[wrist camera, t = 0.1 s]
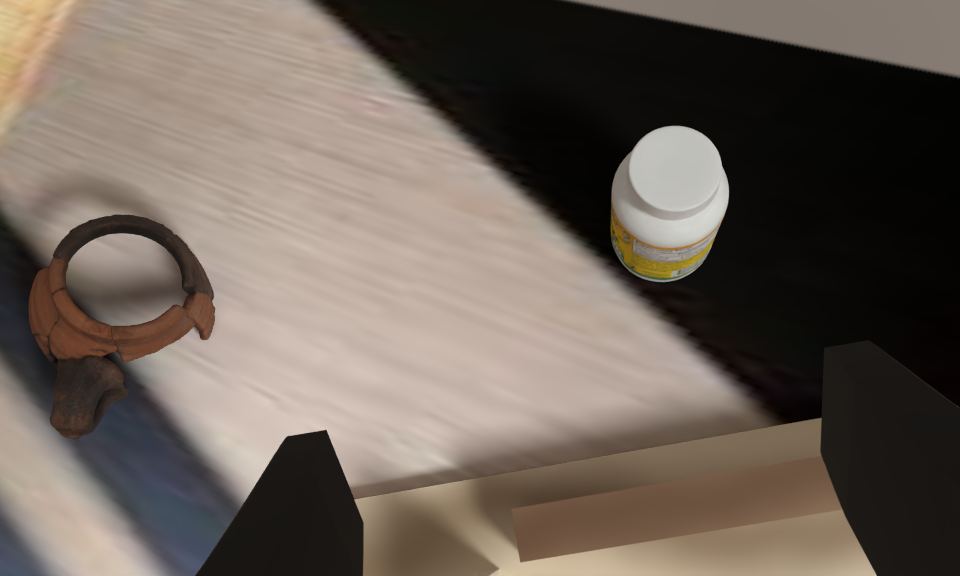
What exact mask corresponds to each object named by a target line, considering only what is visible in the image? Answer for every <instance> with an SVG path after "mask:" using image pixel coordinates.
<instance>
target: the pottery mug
mask: <svg viewBox="0 0 960 576" xmlns="http://www.w3.org/2000/svg"><path fill="white" fill-rule="evenodd" d="M116 233H127V234H135V235H141V236H144V237H147V238H149V239H152V240H154V241H156V242H157V243H159V244H161V245H162V246H163V247H165V248H166V249H167V250H168V251H169V252H170V253H171V254H172V256H173V257H174V258H175V260H176V261H177V263H178V265H179V267H180V270H181V274H182V288H183V290H184V291H185V292H186V293H187V294H188V295H187V298H186V300H185V303H184V306H183V307H181V306H179V305H173V306H172V307H171V308H170V309H169V310H167V311H166V312H165V313H163V314H162V315H161V316H159V317H158V318H156V319H154V320H152V321H149V322H146V323H142V324H139V325H131V326H110V325H108V324H105V323H101V322H99V321H97V320H95V319H93V318H91V317H89V316H87V315H86V314H85V313H83V312H82V311H81V310H80V309H79V308H78V307H77V306H76V305H75V304H74V303H73V301H72V300H71V298H70V296H69V294H68V291H67V287H66V271H67V268H68V263H69V261H70V260H71V258H72V256H73V255H74V254H75V253H76V252H77V251H78V250H79V249H80V248H81V247H82V246H84V245H85V244H87V243H88V242H90V241H91V240H94V239H96V238H98V237H101V236H105V235H107V234H116ZM213 298H214V292H213V290H212V287H211V284H210V282H209V279H208V277H207V275H206V273H205V271H204V269H203V267H202V266H201V264H200V262H199V261H198V259H197V258H196V257H195V255H194V254H193V253H192V252H191V251H190V249H189V248H188V246H187V245H186V244H185V243H184V242H183V240H182V239H181V238H179V237H178V236H177V235H175V234H173V233H172V231H171V230H170V229H168V228H166V227H165V226H164V225H163V224H159V223H157V222H155V221H152V220H150V219H148V218H144V217H138V216H134V215H112V216H105V217H101V218H97V219H94V220H89V221H88V222H86V223H83V224H81V225H79V226H77V227H76V228H74V229H72V230H71V231H70V232H69V234H68V235H67V236H66V237H65V238H64V239H63V240H62V241H61V242H60V244H59V245H58V247H57V248H56V250H55V252H54V254H53V259H52V261H51V264H50V267H48V268H44V269H42V270H40V271H39V272H38V273H37V275H36V277H35V280H34V282H33V285H32V289H31V292H30V297H29V322H30V327H31V330H32V333H33V334H34V336H35V339H36V341H37V343H38V345H39V347H40V348H41V350H42V351H43V353H44V354H45V356H46V357H47V359H48V360H49V361H50V362H51V364H52V365H53V366H54V367H55V369H56V370H57V371H58V372H57V377H56V382H55V387H54V394H55V399H54V404H53V409H52V414H51V417H50V423H51V425H52V426H53V427H54V428H55V429H56V430H57V431H58V432H59V433H60V434H61V435H62V436H64V437H66V438H72V439H78V438H80V437H82V436H83V435H86V434H89V433H91V432H92V431H93V430H94V429H95V428H96V426H97V425H98V423H99V422H100V420H101V418H102V417H103V415H104V413H105V412H106V410H107V409H108V408H109V406H110V405H112V404H113V403H115V402H116V401H118V400H120V399H122V398H124V397H126V396H127V395H129V390H128V388H126V387H125V386H124V384H123V383H124V376H123V374H122V372H121V371H120V370H119V368H118V366H117V365H115V364H114V363H113V362H112V361H110V360H109V359H106V358H103V357H102V356H104V355H107V354H108V353H113V352H118V353H119V355H120V356H121V359H122V361H123V362H128V361H132V360H134V359H137V358H140V357H143V356H145V355H148V354H151V353H155V352H157V351H159V350H160V349H162V348H164V347H165V346H167V345H169V344H171V343H173V342H175V341H177V340H179V339H180V338H182V337H183V336H184V335H185V334H187V333H188V332H189V331H190V330H191V329H192V328H193V327H194V326H195V327H196V328H197V329H198V331H199V334H200V338H201V339H202V340H207V339H209V337H210V335H211V332H212V329H213V325H214V322H215V316H214V313H215V307H214V306H213V303H212V300H213Z"/></svg>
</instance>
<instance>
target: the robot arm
mask: <svg viewBox="0 0 960 576" xmlns="http://www.w3.org/2000/svg"><path fill="white" fill-rule="evenodd" d="M820 453H821V456H822V458H823V461H824V464H825V466H826V469H827V471H828V474H829V477H830V479H831V482H832V485H833V487H834V490H835V492H836V495H837V497H838V500H839V502H840V505H841V507H842V510H843V512H844V515H845V517H846V519H847V521H848V523H849V525H850V527H851V529H852V530H853V532H854V534H855V536H856V538H857V540H858V542H859V544H860V545H861V547H862V549H863V551H864V553H865V555H866V557H867V558H868V560H869V562H870V564H871V566H872V568H873V570H874V571H875V573H876V575H877V576H960V408H959V407H958V406H956V405H955V404H953V403H952V402H951V401H949V400H948V399H947V398H945V397H944V396H943V395H941V394H940V393H939V392H937V391H936V390H935V389H933V388H932V387H931V386H929V385H928V384H926V383H925V382H924V381H923V380H921V379H920V378H919V377H917V376H916V375H915V374H913V373H912V372H911V371H909V370H908V369H907V368H905V367H904V366H903V365H901V364H900V363H899V362H897V361H896V360H895V359H893V358H892V357H891V356H889V355H888V354H887V353H885V352H884V351H883V350H881V349H880V348H879V347H877V346H876V345H875V344H873V343H872V342H871V341H863V342H857V343H851V344H845V345H839V346H833V347H827V348H825V349H824V373H823V397H822V421H821V445H820ZM363 555H364V522H363V520H362V517H361V515H360V512H359V510H358V507H357V505H356V502H355V500H354V497H353V495H352V493H351V490H350V488H349V485H348V483H347V480H346V478H345V475H344V473H343V470H342V468H341V465H340V463H339V460H338V458H337V455H336V453H335V450H334V448H333V445H332V443H331V440H330V438H329V435H328V433H327V430H324V431H318V432H311V433H305V434H299V435H293V436H287V437H286V438H285V440H284V441H283V442H282V444H281V445H280V447H279V448H278V450H277V452H276V453H275V455H274V456H273V458H272V459H271V461H270V463H269V464H268V466H267V467H266V469H265V471H264V472H263V474H262V475H261V477H260V479H259V480H258V482H257V483H256V485H255V487H254V488H253V490H252V491H251V493H250V495H249V496H248V498H247V499H246V501H245V502H244V504H243V506H242V507H241V509H240V510H239V512H238V513H237V515H236V516H235V518H234V520H233V521H232V523H231V524H230V526H229V527H228V529H227V530H226V532H225V533H224V535H223V536H222V538H221V539H220V541H219V542H218V544H217V545H216V547H215V548H214V550H213V551H212V553H211V554H210V556H209V557H208V558H207V560H206V561H205V563H204V564H203V566H202V567H201V568H200V570H199V571H198V573H197V574H196V575H195V576H363Z"/></svg>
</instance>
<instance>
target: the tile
mask: <svg viewBox="0 0 960 576" xmlns="http://www.w3.org/2000/svg"><path fill="white" fill-rule="evenodd" d="M474 576H501V575H500V569H496V570H489V571H483V572H479V573H477V574H476V575H474Z"/></svg>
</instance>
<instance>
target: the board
mask: <svg viewBox="0 0 960 576" xmlns="http://www.w3.org/2000/svg"><path fill="white" fill-rule="evenodd" d="M821 421H822V418H818V419H812V420H807V421H801V422H795V423H789V424H784V425H778V426H772V427H766V428H761V429H755V430H749V431H744V432H738V433H732V434H726V435H721V436H715V437H709V438H703V439H698V440H692V441H686V442H681V443H675V444H669V445H663V446H658V447H652V448H646V449H640V450H635V451H629V452H623V453H618V454H612V455H606V456H600V457H595V458H589V459H583V460H577V461H572V462H566V463H560V464H554V465H549V466H543V467H537V468H532V469H526V470H520V471H514V472H509V473H503V474H497V475H491V476H486V477H480V478H474V479H469V480H463V481H457V482H451V483H446V484H440V485H434V486H428V487H423V488H417V489H411V490H406V491H400V492H394V493H388V494H383V495H377V496H371V497H365V498H360V499H354V500H355V502H356V505H357V507H358V510H359V512H360V515H361V517H362V520H363V522H364V555H363V576H474V575H476V574H477V573H479V572H483V571H489V570H496V569H500V575H501V576H877V575H876V573H875V571H874V570H873V568H872V566H871V564H870V562H869V560H868V558H867V557H866V555H865V553H864V551H863V549H862V547H861V545H860V544H859V542H858V540H857V538H856V536H855V534H854V532H853V530H852V529H851V527H850V525H849V523H848V521H847V519H846V517H845V515H844V512H843V510H837V511H831V512H825V513H819V514H813V515H807V516H801V517H795V518H789V519H783V520H776V521H770V522H764V523H758V524H752V525H746V526H740V527H734V528H728V529H722V530H715V531H709V532H703V533H697V534H691V535H685V536H679V537H673V538H667V539H661V540H655V541H648V542H642V543H636V544H630V545H624V546H618V547H612V548H606V549H600V550H594V551H588V552H581V553H575V554H569V555H563V556H557V557H551V558H545V559H539V560H533V561H527V562H520V558H519V552H518V546H517V540H516V534H515V528H514V522H513V516H512V510H511V509H513V508H519V507H525V506H531V505H537V504H543V503H549V502H555V501H560V500H566V499H572V498H578V497H584V496H590V495H596V494H602V493H607V492H613V491H619V490H625V489H631V488H637V487H643V486H649V485H654V484H660V483H666V482H672V481H678V480H684V479H690V478H695V477H701V476H707V475H713V474H719V473H725V472H731V471H737V470H742V469H748V468H754V467H760V466H766V465H772V464H778V463H784V462H789V461H795V460H801V459H807V458H813V457H819V456H821V453H820V445H821Z"/></svg>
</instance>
